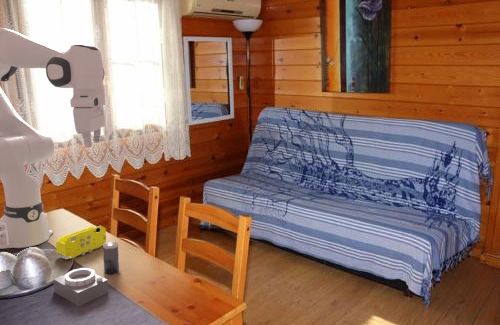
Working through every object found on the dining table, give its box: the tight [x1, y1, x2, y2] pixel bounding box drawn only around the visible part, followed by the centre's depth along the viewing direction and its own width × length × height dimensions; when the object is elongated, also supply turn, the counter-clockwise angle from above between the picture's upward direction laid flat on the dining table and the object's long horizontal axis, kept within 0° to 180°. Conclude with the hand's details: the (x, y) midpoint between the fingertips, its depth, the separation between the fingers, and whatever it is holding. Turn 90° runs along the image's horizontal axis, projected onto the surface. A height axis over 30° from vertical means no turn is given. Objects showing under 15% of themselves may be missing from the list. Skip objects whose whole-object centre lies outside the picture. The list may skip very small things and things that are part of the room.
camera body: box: [53, 267, 109, 307], centre depth 115 cm, size 12×9×6 cm
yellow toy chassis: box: [55, 225, 107, 259], centre depth 141 cm, size 16×6×8 cm, turn 148°
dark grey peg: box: [102, 241, 120, 276], centre depth 128 cm, size 4×4×9 cm
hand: (93, 144), depth 127 cm, fingers open, 8 cm apart
